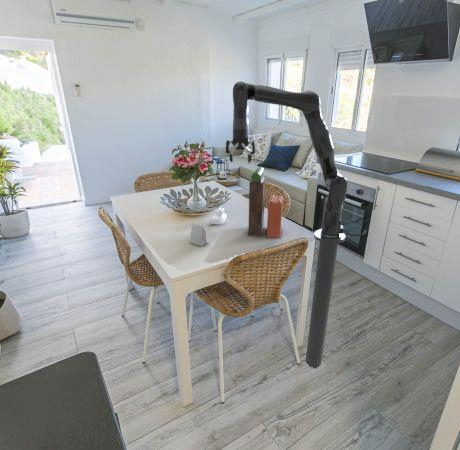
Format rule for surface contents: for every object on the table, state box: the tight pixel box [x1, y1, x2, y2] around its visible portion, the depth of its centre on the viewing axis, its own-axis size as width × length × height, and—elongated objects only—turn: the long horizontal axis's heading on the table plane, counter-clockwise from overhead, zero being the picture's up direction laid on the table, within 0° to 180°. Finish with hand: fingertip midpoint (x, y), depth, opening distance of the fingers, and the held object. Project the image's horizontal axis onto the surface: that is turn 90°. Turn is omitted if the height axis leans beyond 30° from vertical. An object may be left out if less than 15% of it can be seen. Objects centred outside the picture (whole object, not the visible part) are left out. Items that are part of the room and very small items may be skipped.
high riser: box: [247, 175, 266, 237], centre depth 169 cm, size 7×12×31 cm, turn 171°
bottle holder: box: [266, 194, 284, 239], centre depth 170 cm, size 7×12×21 cm, turn 171°
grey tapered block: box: [190, 223, 207, 247], centre depth 158 cm, size 4×7×10 cm, turn 58°
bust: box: [209, 207, 228, 226], centre depth 183 cm, size 12×8×11 cm
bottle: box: [250, 166, 265, 182], centre depth 167 cm, size 5×21×5 cm, turn 170°
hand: (240, 162), depth 155 cm, fingers open, 8 cm apart
